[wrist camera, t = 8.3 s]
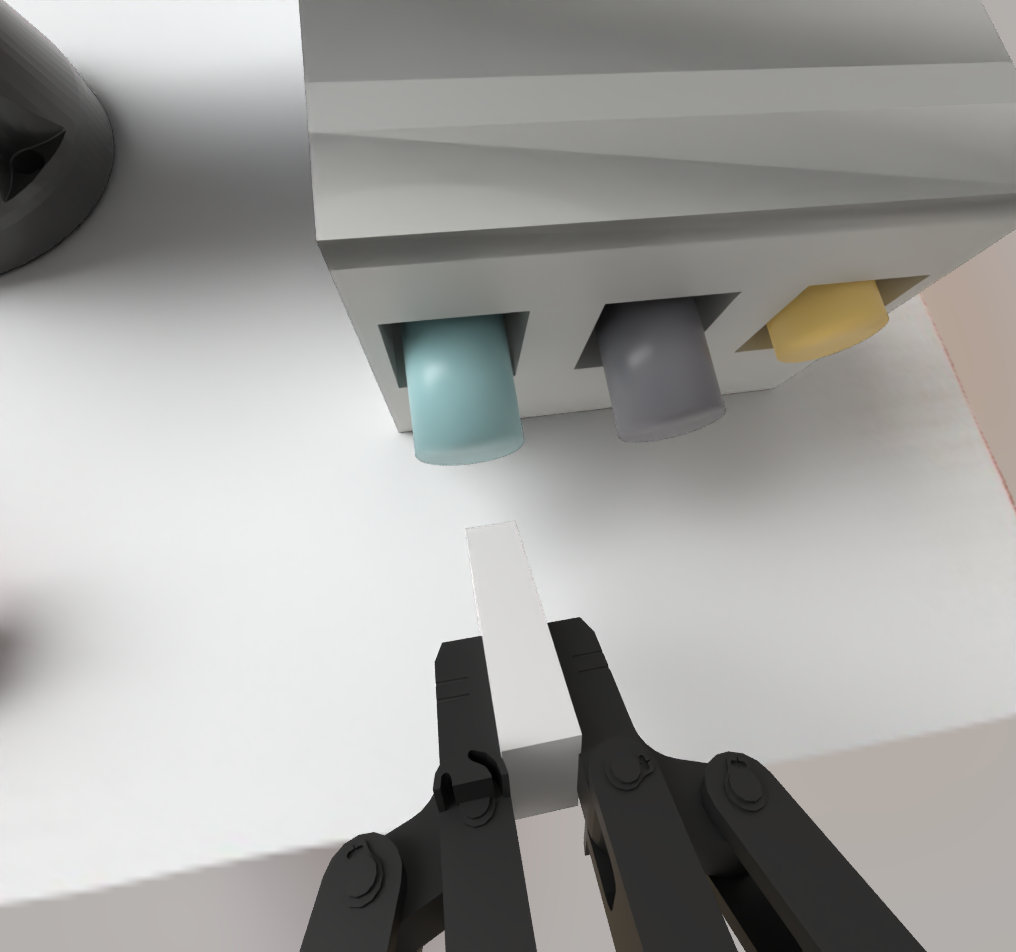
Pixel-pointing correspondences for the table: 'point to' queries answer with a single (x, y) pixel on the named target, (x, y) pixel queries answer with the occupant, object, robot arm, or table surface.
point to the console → (645, 167)
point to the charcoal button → (658, 368)
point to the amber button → (827, 320)
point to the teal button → (461, 390)
